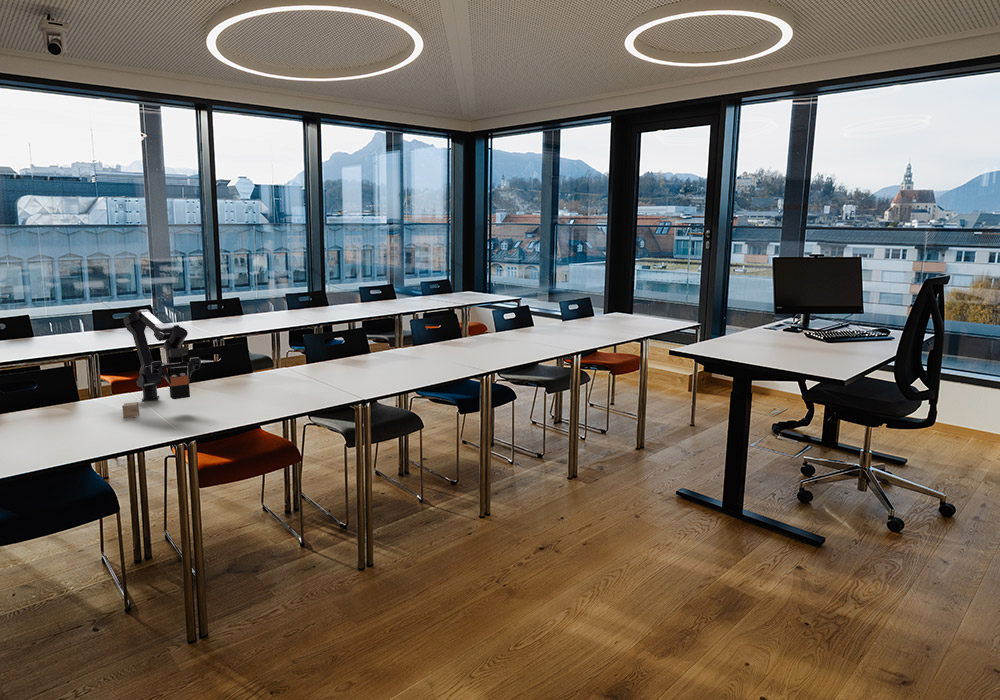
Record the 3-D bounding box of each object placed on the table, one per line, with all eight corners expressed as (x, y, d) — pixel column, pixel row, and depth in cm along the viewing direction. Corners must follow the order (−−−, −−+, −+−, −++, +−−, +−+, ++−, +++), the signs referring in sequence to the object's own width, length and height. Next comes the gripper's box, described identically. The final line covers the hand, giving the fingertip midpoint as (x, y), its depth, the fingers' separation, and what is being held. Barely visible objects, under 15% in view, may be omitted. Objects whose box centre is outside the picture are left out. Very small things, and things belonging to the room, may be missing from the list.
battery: (190, 397, 283) (188, 373, 281) (173, 399, 279) (171, 376, 277) (187, 395, 286) (185, 372, 285) (170, 397, 282) (168, 374, 280)
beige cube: (125, 414, 280) (124, 403, 279) (139, 413, 282) (138, 402, 281) (123, 417, 276) (122, 406, 275) (137, 416, 277) (136, 405, 276)
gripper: (149, 342, 276) (155, 374, 269) (198, 338, 287) (205, 368, 280) (148, 358, 284) (154, 389, 277) (196, 353, 294) (203, 383, 288)
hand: (179, 382), depth 280 cm, fingers closed on battery, 7 cm apart
